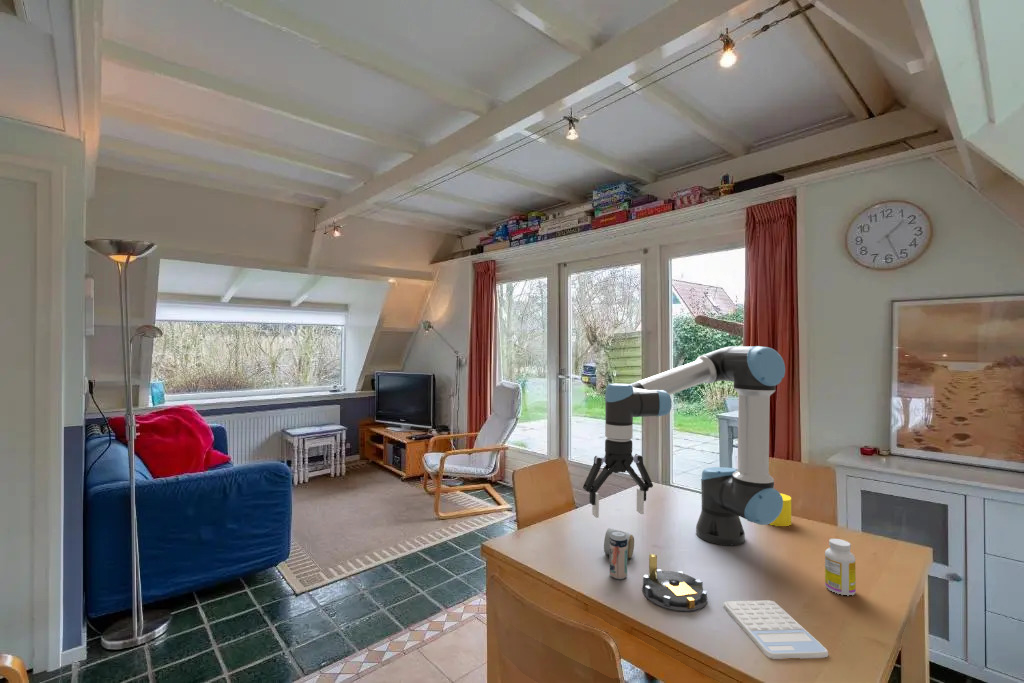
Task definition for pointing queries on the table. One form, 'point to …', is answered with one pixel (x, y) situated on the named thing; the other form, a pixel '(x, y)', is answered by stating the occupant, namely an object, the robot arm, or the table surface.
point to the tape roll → (784, 512)
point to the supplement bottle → (840, 568)
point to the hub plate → (674, 608)
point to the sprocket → (673, 586)
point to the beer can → (618, 555)
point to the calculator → (774, 630)
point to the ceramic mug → (629, 543)
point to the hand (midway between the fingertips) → (618, 514)
